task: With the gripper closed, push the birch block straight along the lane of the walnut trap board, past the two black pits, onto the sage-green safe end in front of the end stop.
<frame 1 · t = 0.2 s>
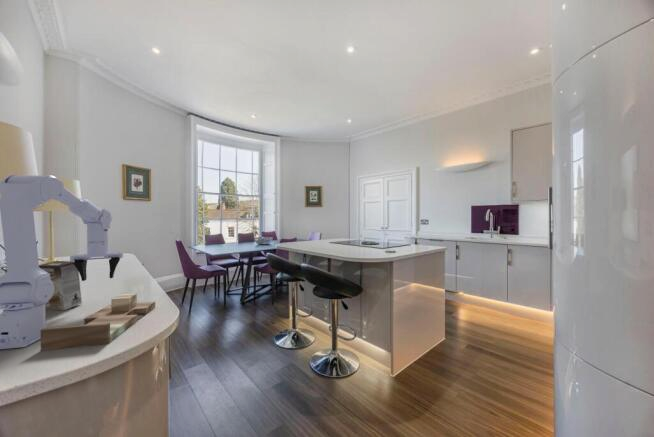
hand: (98, 279, 94), 10 cm above the counter, tool pointing down, fingers open, 7 cm apart
trap board: (109, 324, 78), on the counter
coffee box: (63, 306, 93), on the counter
birch block: (124, 308, 86), point 2 cm above the counter, touching trap board
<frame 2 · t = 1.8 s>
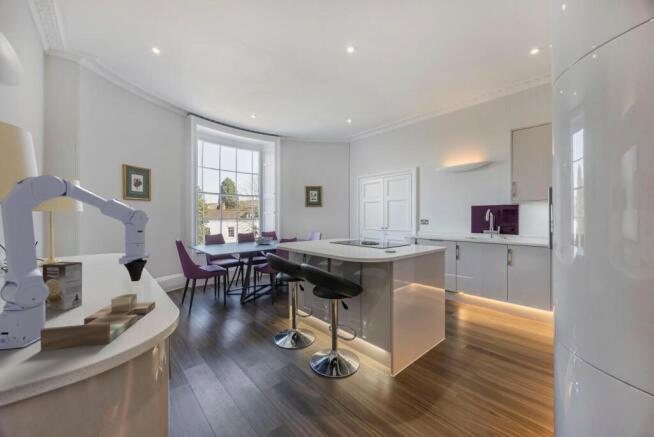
hand: (135, 280, 93), 9 cm above the counter, tool pointing down, fingers closed
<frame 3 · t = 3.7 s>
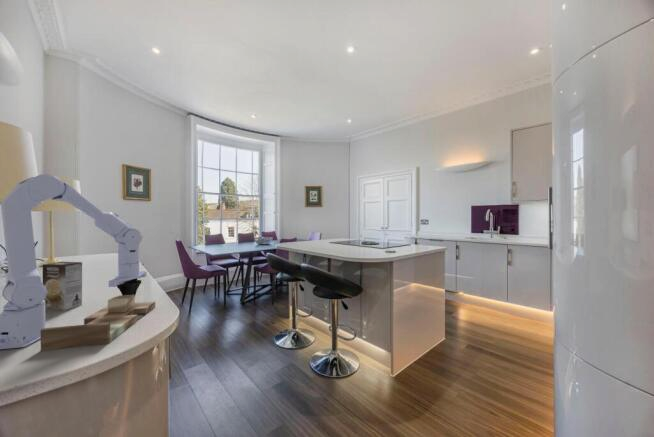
hand: (129, 302, 89), 3 cm above the counter, tool pointing down, fingers closed
birch block: (121, 309, 85), point 2 cm above the counter, touching gripper, trap board
everything else where it was.
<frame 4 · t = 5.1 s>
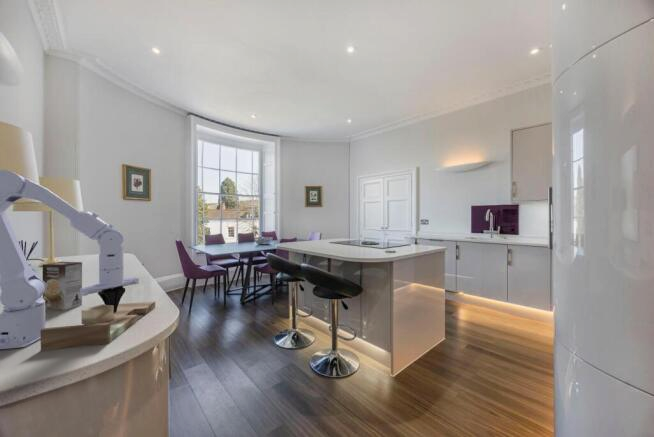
hand: (112, 312, 79), 3 cm above the counter, tool pointing down, fingers closed
birch block: (98, 321, 75), point 2 cm above the counter, touching gripper, trap board
everything else where it was.
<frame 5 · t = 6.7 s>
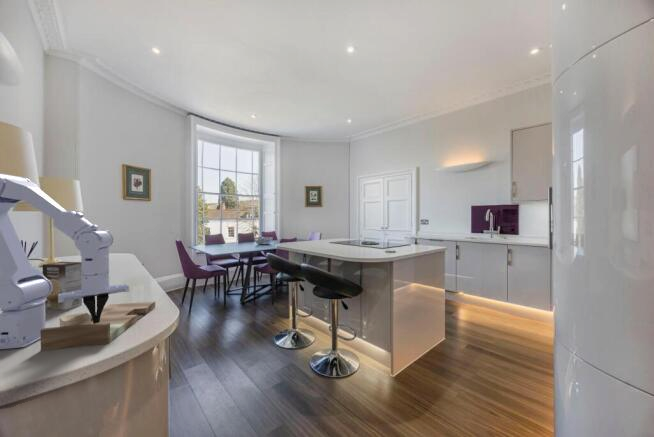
hand: (96, 322, 72), 3 cm above the counter, tool pointing down, fingers closed
birch block: (75, 331, 68), point 2 cm above the counter, touching gripper, trap board
everything else where it was.
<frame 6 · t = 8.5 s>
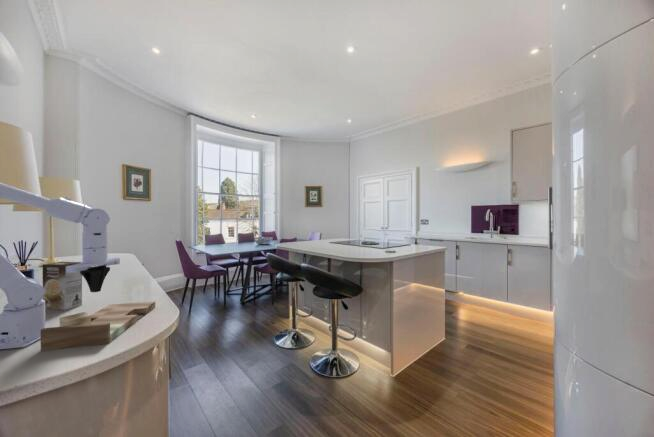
hand: (95, 291, 80), 9 cm above the counter, tool pointing down, fingers closed
birch block: (75, 331, 68), point 2 cm above the counter, touching trap board
everything else where it was.
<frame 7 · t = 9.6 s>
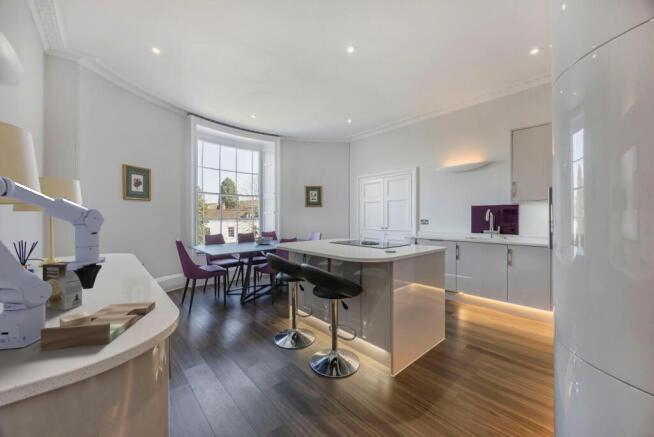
hand: (88, 288, 83), 9 cm above the counter, tool pointing down, fingers closed
nothing on the counter moved.
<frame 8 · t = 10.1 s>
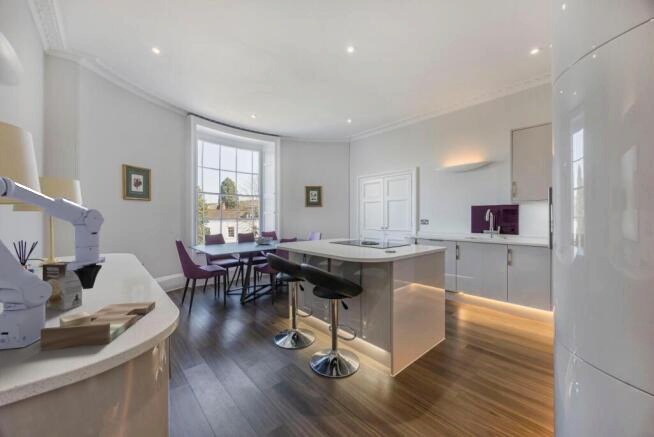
hand: (88, 288, 83), 9 cm above the counter, tool pointing down, fingers closed
nothing on the counter moved.
at the end: birch block inside the target area (3.0 cm from its centre), point 2.0 cm above the counter; birch block tilted 0° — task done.
